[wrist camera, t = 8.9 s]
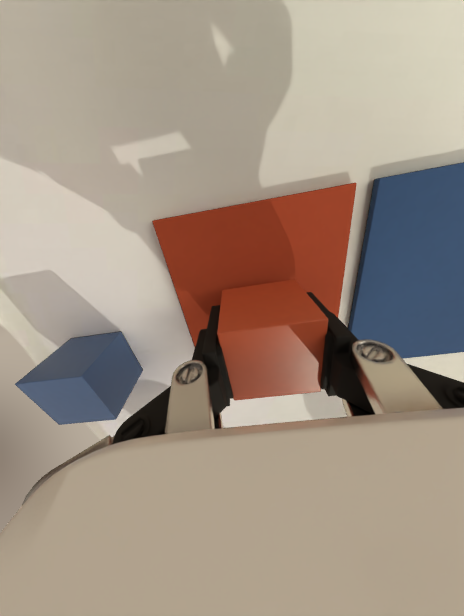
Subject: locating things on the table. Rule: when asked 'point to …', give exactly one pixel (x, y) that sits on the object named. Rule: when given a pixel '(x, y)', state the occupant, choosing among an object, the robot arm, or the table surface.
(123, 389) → the blue block
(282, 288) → the terracotta block
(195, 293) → the terracotta mat
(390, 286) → the blue mat
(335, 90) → the table surface
